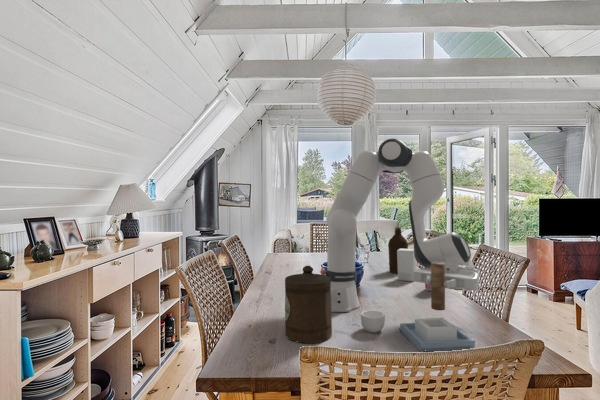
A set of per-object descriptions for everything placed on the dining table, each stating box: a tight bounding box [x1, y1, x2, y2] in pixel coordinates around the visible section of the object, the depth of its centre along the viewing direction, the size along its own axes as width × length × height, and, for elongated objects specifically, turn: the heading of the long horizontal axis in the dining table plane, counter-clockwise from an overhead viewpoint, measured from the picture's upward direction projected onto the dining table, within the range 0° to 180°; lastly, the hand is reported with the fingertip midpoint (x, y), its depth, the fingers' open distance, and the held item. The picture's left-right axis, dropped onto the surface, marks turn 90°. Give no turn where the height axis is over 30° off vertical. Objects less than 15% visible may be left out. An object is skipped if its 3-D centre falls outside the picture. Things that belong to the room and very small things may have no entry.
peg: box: [430, 262, 446, 311], centre depth 117 cm, size 4×4×14 cm
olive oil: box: [387, 226, 409, 275], centre depth 209 cm, size 11×11×25 cm
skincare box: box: [397, 248, 418, 282], centre depth 191 cm, size 8×7×16 cm
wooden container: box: [284, 265, 333, 344], centre depth 120 cm, size 15×15×22 cm
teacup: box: [360, 309, 386, 334], centre depth 124 cm, size 10×8×5 cm
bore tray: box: [399, 317, 476, 352], centre depth 115 cm, size 16×16×5 cm
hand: (437, 283), depth 116 cm, fingers closed on peg, 4 cm apart
